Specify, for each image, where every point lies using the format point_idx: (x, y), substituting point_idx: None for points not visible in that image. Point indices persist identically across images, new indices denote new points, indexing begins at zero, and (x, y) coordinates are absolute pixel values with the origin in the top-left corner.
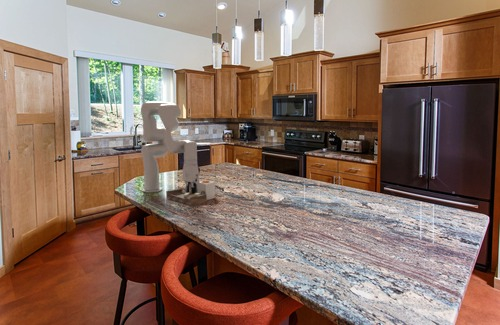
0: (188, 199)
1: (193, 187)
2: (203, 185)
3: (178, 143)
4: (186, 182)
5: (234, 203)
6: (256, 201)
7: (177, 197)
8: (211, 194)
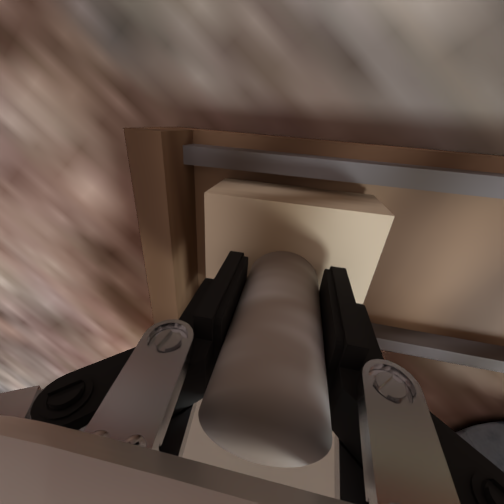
0: (244, 161)
1: (177, 329)
2: (209, 461)
3: None
4: (446, 475)
5: (44, 330)
6: (23, 386)
7: (492, 173)
8: None
